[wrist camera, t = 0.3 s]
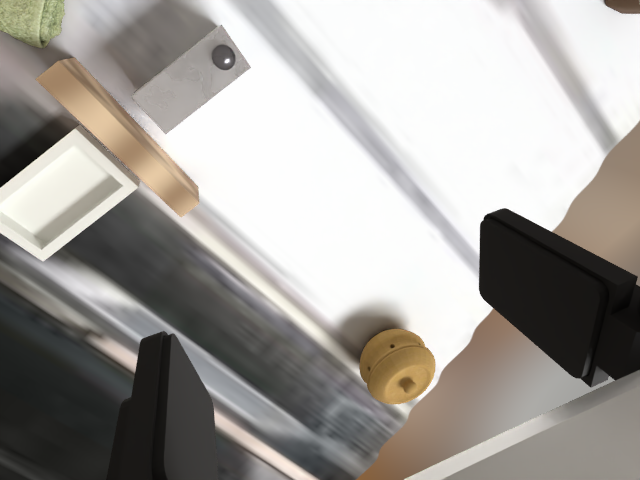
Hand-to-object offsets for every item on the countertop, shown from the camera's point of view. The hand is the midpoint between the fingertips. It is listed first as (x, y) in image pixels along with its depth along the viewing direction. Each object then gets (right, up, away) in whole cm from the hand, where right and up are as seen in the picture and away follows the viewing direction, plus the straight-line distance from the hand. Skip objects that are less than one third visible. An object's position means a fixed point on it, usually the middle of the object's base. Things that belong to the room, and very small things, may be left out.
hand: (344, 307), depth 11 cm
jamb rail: (-20, +13, +27) cm, 36 cm away
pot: (+10, -16, +54) cm, 57 cm away
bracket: (-27, +7, +28) cm, 40 cm away
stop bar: (-14, +18, +27) cm, 35 cm away
